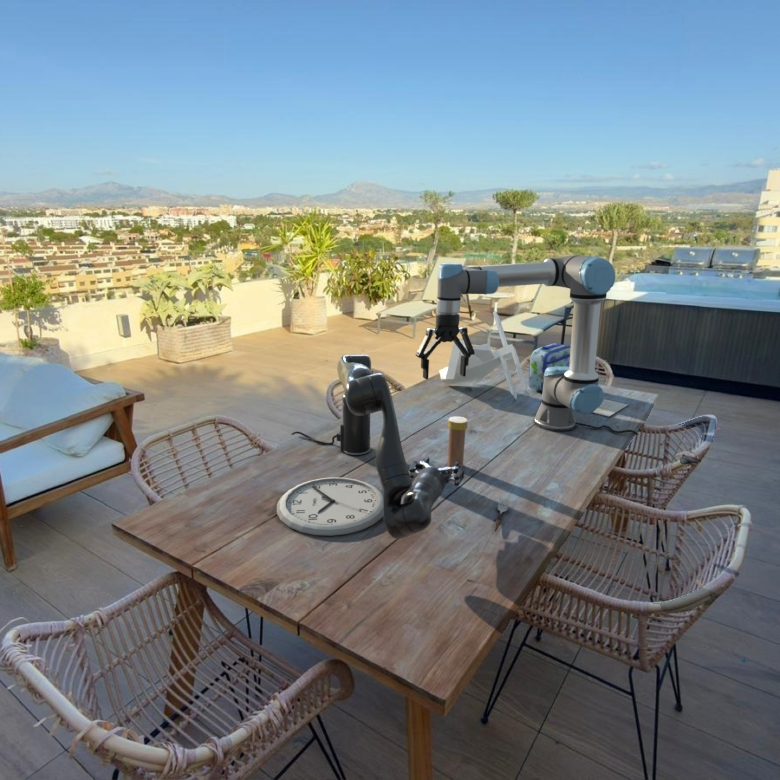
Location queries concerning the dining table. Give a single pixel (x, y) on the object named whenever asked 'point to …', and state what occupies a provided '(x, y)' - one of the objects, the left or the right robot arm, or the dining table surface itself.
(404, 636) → the dining table surface
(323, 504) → the wall clock
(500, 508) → the fork
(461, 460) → the jar
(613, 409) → the invitation card
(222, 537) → the dining table surface
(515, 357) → the white plastic object
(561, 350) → the lunch box
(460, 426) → the lid
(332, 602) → the dining table surface
